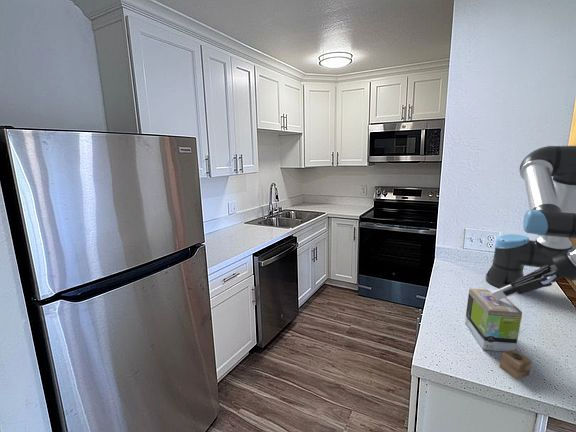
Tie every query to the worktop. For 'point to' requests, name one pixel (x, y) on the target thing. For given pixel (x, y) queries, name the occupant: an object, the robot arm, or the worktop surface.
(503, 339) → the tea box
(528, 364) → the walnut block
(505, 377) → the worktop surface
